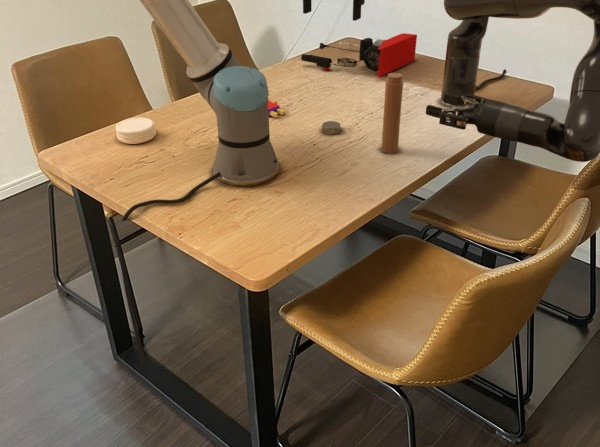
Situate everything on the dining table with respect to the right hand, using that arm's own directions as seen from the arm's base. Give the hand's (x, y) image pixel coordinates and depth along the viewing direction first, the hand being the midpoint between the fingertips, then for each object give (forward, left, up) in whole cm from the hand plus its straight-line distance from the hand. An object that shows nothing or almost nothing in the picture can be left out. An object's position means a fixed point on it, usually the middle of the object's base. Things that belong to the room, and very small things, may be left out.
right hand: (435, 103), depth 141 cm
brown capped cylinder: (0, -11, -15) cm, 18 cm away
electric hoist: (-53, -54, -15) cm, 77 cm away
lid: (-1, -29, -13) cm, 32 cm away
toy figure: (-1, -52, -15) cm, 54 cm away
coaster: (+32, -69, -15) cm, 77 cm away
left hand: (-1, -30, +15) cm, 33 cm away
